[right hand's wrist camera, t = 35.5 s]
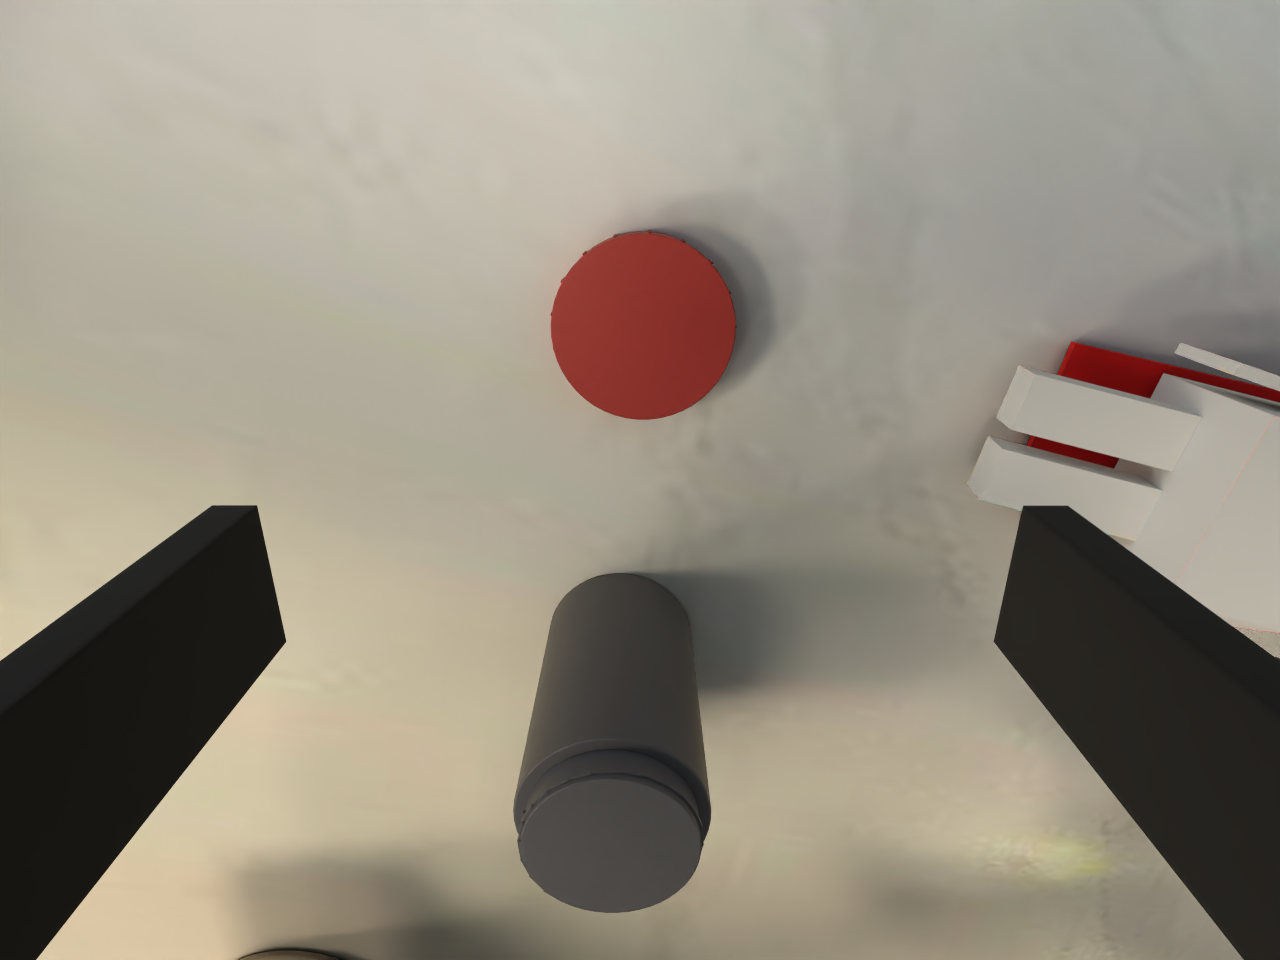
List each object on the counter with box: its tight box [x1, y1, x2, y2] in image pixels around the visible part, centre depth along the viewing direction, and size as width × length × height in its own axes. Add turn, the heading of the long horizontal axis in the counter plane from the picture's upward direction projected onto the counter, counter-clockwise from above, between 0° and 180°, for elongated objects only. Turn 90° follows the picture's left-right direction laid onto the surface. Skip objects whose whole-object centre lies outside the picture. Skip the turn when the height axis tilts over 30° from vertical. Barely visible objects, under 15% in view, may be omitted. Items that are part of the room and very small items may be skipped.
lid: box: [551, 230, 736, 419], centre depth 36 cm, size 9×9×2 cm
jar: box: [513, 574, 711, 913], centre depth 37 cm, size 8×8×15 cm
